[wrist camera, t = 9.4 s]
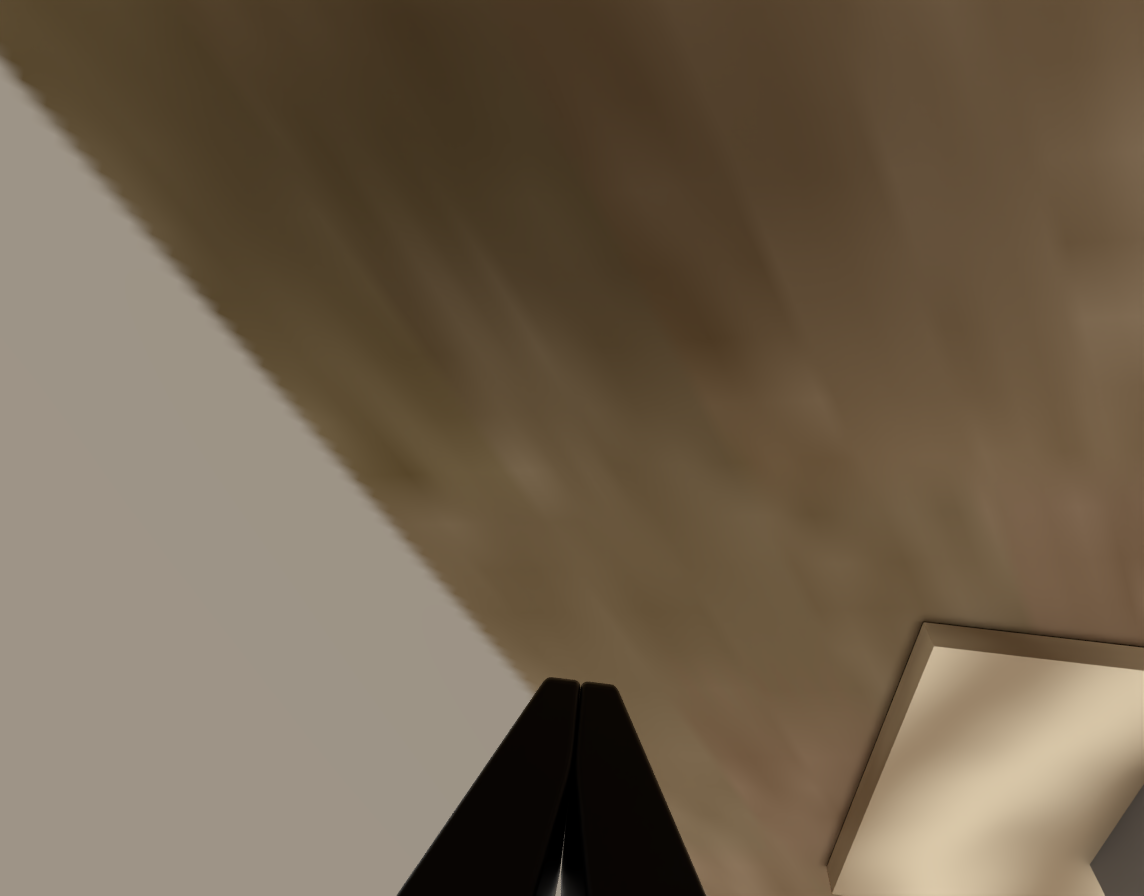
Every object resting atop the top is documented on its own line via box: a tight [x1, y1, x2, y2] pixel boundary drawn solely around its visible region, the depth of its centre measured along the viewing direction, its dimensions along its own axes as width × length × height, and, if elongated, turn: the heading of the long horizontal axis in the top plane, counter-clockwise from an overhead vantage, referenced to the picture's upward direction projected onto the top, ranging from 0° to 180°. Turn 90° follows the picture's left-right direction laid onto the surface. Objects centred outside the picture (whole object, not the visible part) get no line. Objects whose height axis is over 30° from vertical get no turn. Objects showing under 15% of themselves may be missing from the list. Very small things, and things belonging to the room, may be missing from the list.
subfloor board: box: [827, 622, 1144, 896], centre depth 26 cm, size 16×15×1 cm
